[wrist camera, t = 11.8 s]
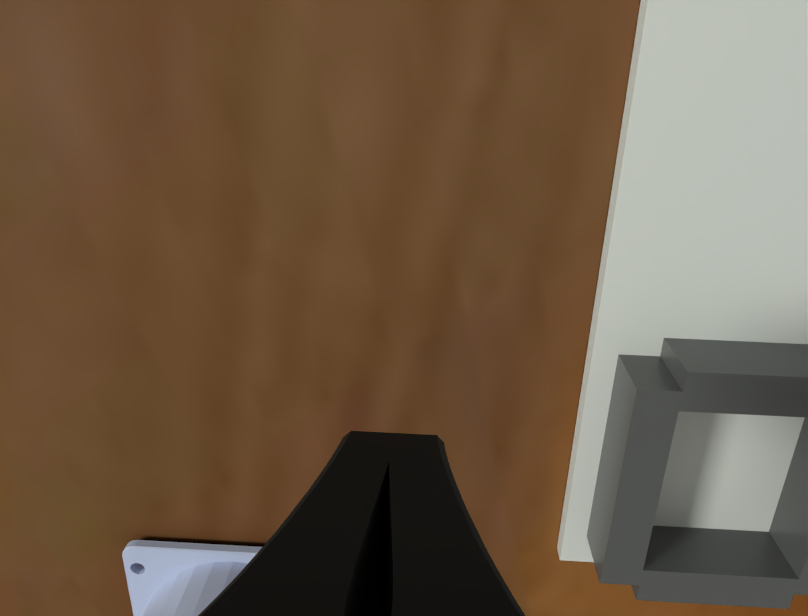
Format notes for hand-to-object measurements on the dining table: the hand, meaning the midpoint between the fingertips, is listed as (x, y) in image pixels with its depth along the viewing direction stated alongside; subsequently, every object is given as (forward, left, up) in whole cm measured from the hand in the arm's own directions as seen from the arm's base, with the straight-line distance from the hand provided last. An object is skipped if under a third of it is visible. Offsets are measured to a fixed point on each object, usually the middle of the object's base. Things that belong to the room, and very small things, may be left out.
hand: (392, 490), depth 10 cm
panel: (-2, -12, -10) cm, 16 cm away
